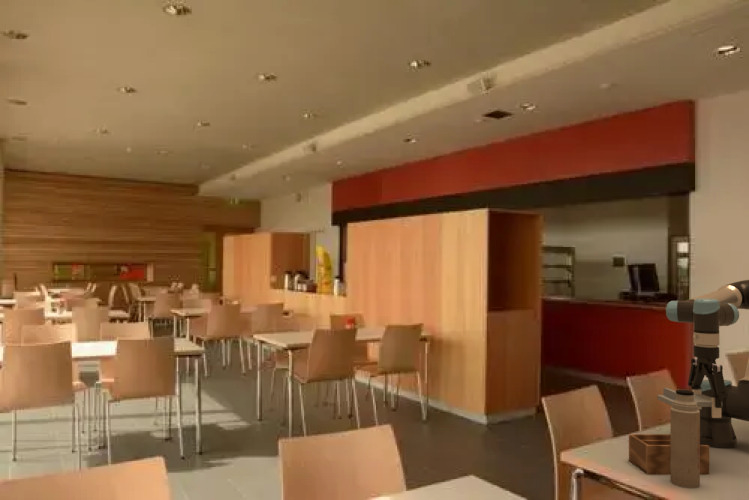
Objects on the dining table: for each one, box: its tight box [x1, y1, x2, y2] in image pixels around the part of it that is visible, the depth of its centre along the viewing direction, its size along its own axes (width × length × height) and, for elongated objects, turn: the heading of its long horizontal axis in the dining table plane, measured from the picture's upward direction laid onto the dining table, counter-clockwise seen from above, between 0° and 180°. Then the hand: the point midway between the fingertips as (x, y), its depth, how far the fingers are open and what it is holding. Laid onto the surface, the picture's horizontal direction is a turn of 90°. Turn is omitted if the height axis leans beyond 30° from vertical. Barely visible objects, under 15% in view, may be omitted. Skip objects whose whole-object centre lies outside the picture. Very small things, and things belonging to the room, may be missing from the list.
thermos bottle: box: [669, 389, 701, 489], centre depth 186 cm, size 8×8×28 cm
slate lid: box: [656, 387, 722, 407], centre depth 200 cm, size 16×10×4 cm, turn 93°
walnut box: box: [628, 433, 710, 476], centre depth 200 cm, size 20×13×9 cm, turn 92°
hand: (706, 413), depth 200 cm, fingers closed on slate lid, 10 cm apart
